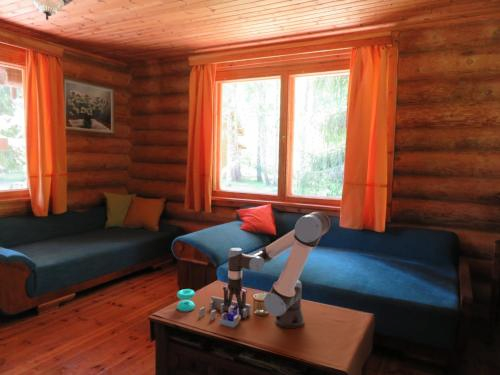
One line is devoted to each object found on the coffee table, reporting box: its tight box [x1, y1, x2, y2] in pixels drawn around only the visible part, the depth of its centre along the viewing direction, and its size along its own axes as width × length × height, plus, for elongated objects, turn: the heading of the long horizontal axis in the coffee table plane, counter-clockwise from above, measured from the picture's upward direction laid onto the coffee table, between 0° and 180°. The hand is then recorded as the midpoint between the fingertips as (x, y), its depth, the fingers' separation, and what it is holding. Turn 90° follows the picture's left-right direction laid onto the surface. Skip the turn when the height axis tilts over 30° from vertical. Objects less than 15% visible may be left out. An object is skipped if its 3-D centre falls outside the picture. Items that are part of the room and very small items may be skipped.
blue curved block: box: [226, 306, 243, 322], centre depth 196 cm, size 12×4×6 cm, turn 153°
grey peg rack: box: [198, 295, 252, 328], centre depth 199 cm, size 25×16×6 cm, turn 64°
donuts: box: [176, 288, 196, 312], centre depth 208 cm, size 10×10×10 cm
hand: (234, 318), depth 197 cm, fingers closed on blue curved block, 5 cm apart
